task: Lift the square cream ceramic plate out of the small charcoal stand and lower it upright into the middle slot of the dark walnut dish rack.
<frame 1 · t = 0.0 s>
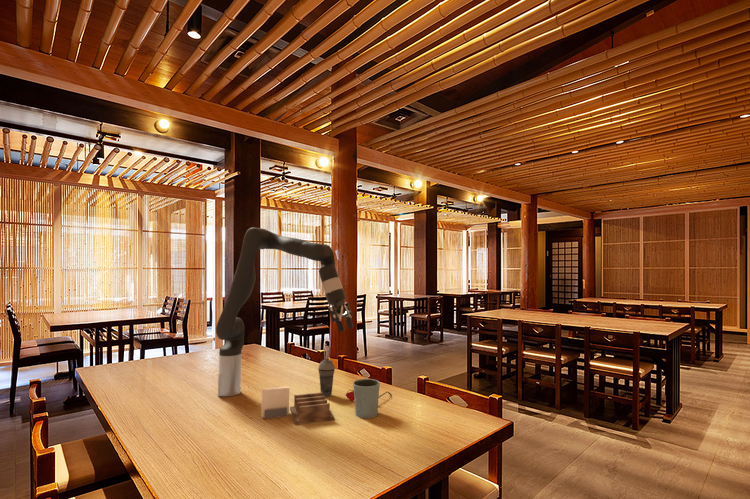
hand: (346, 329, 153), 31 cm above the table, tool tilted 20°, fingers open, 8 cm apart
dish rack: (311, 414, 147), on the table
grey green cup: (366, 414, 148), on the table
glasses: (368, 398, 168), on the table
plate stand: (275, 414, 147), on the table
beverage cup: (326, 396, 170), on the table
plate: (275, 415, 147), resting in plate stand
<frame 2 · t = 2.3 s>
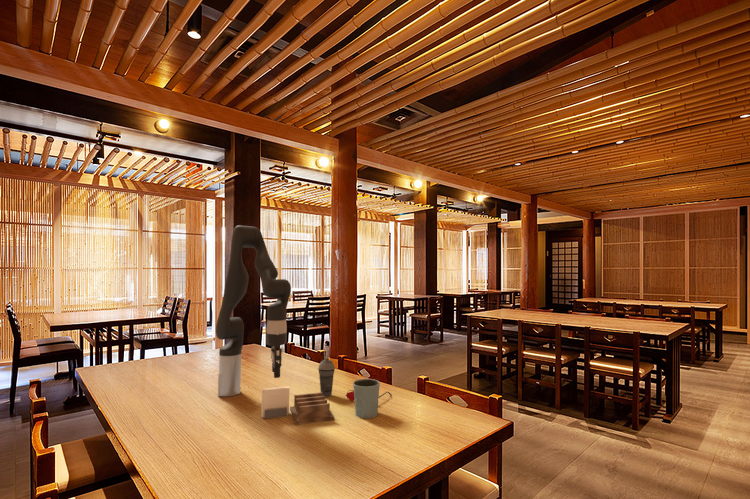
hand: (276, 374, 148), 15 cm above the table, tool pointing down, fingers open, 8 cm apart
nothing on the table moved.
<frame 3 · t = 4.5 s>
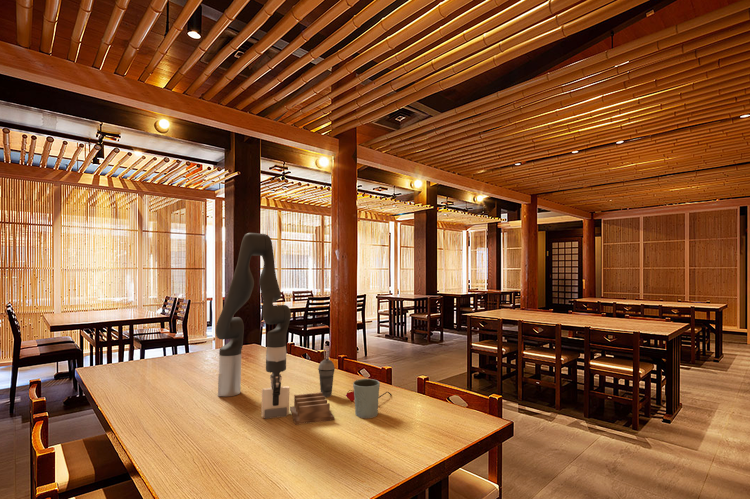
hand: (275, 404, 147), 4 cm above the table, tool pointing down, fingers closed on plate, 2 cm apart
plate: (275, 415, 147), resting in plate stand, touching gripper
everything else where it was.
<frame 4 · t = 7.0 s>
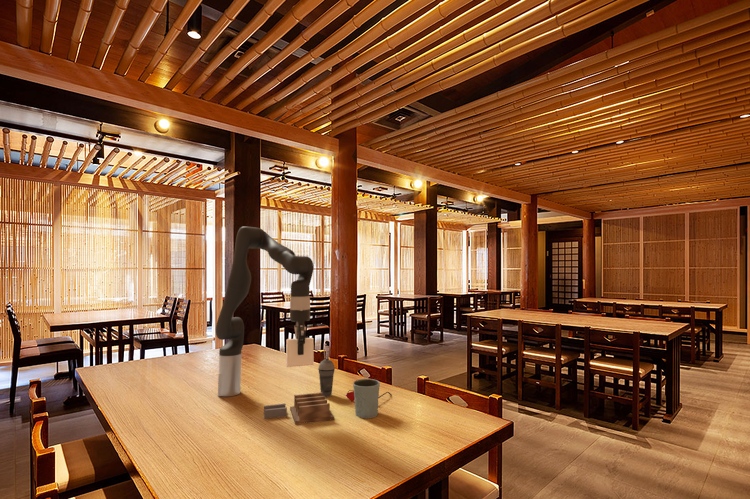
hand: (300, 353, 148), 23 cm above the table, tool pointing down, fingers closed on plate
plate: (300, 365, 148), point 19 cm above the table, touching gripper
everything else where it was.
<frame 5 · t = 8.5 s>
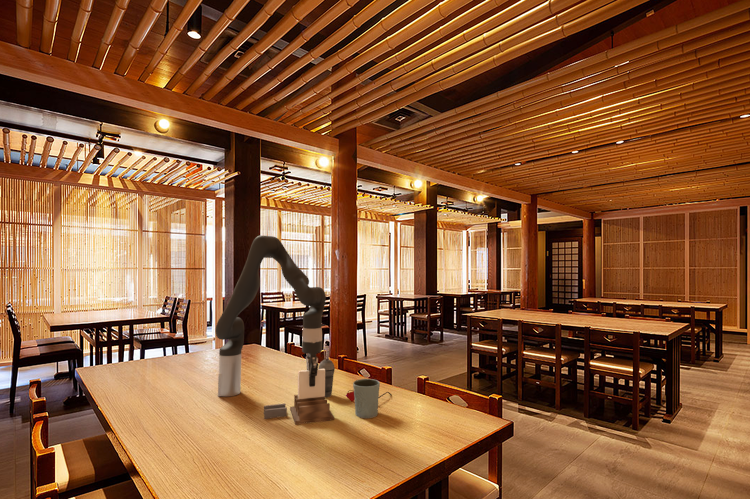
hand: (311, 385, 148), 11 cm above the table, tool pointing down, fingers closed on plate
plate: (311, 396, 148), point 7 cm above the table, touching gripper
everything else where it was.
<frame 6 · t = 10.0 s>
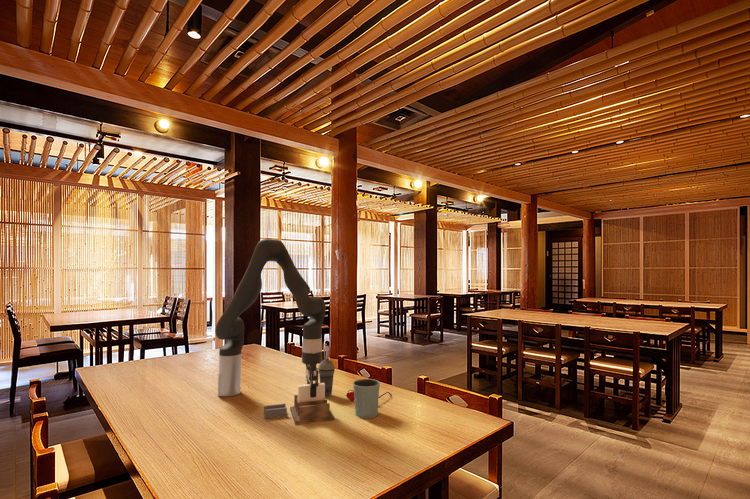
hand: (311, 393, 148), 8 cm above the table, tool pointing down, fingers open, 6 cm apart
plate: (311, 411, 148), point 1 cm above the table, touching dish rack
everything else where it was.
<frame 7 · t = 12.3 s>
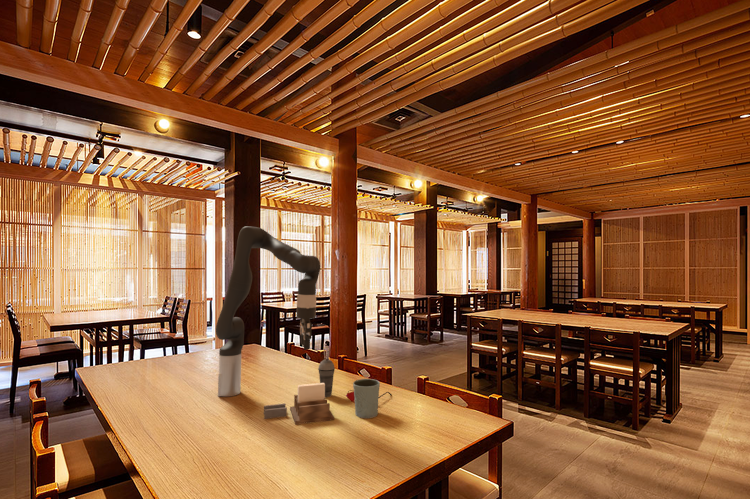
hand: (305, 347, 153), 24 cm above the table, tool pointing down, fingers open, 8 cm apart
nothing on the table moved.
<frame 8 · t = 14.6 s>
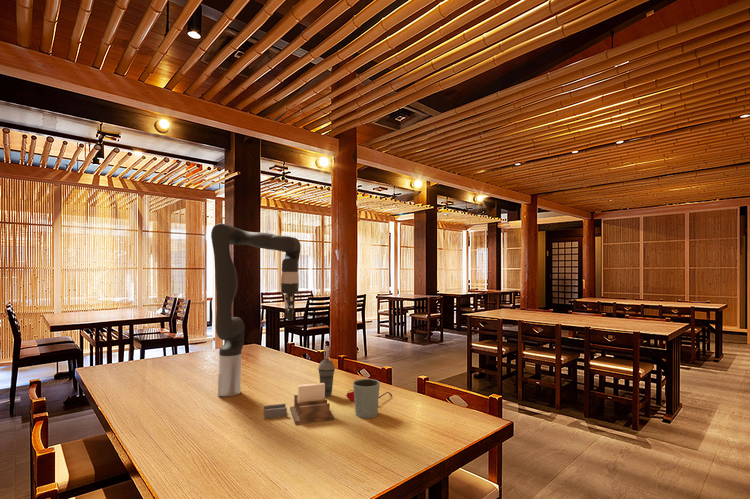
hand: (289, 319, 170), 33 cm above the table, tool pointing down, fingers open, 8 cm apart
nothing on the table moved.
at the end: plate 0.2 cm off-centre on the dish rack, point 1.2 cm above the dish rack's base; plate tilted 0°; the gripper is holding nothing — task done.
